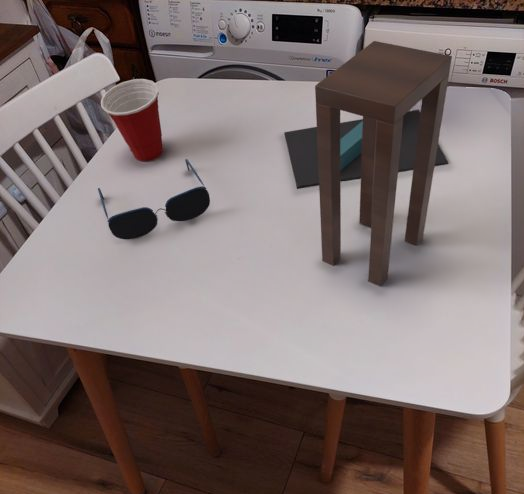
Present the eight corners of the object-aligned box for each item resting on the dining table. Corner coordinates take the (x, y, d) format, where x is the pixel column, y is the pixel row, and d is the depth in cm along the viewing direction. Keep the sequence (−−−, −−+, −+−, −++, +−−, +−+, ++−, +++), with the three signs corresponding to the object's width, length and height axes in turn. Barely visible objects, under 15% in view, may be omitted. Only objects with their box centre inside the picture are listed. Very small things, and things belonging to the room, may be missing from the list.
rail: (389, 113, 99) (390, 97, 96) (402, 117, 97) (404, 101, 95) (320, 171, 90) (319, 156, 87) (334, 176, 88) (334, 161, 86)
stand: (366, 216, 82) (374, 40, 61) (423, 238, 77) (452, 55, 57) (322, 260, 77) (314, 85, 56) (380, 286, 72) (395, 106, 52)
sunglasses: (117, 245, 85) (105, 219, 81) (105, 207, 95) (94, 182, 92) (214, 211, 87) (206, 185, 84) (192, 178, 97) (185, 153, 94)
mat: (418, 111, 98) (418, 109, 98) (447, 163, 87) (448, 161, 87) (284, 134, 99) (284, 132, 99) (297, 188, 88) (296, 186, 88)
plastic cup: (111, 166, 100) (87, 106, 91) (139, 136, 106) (119, 77, 96) (158, 173, 96) (138, 111, 87) (185, 141, 102) (168, 80, 93)
